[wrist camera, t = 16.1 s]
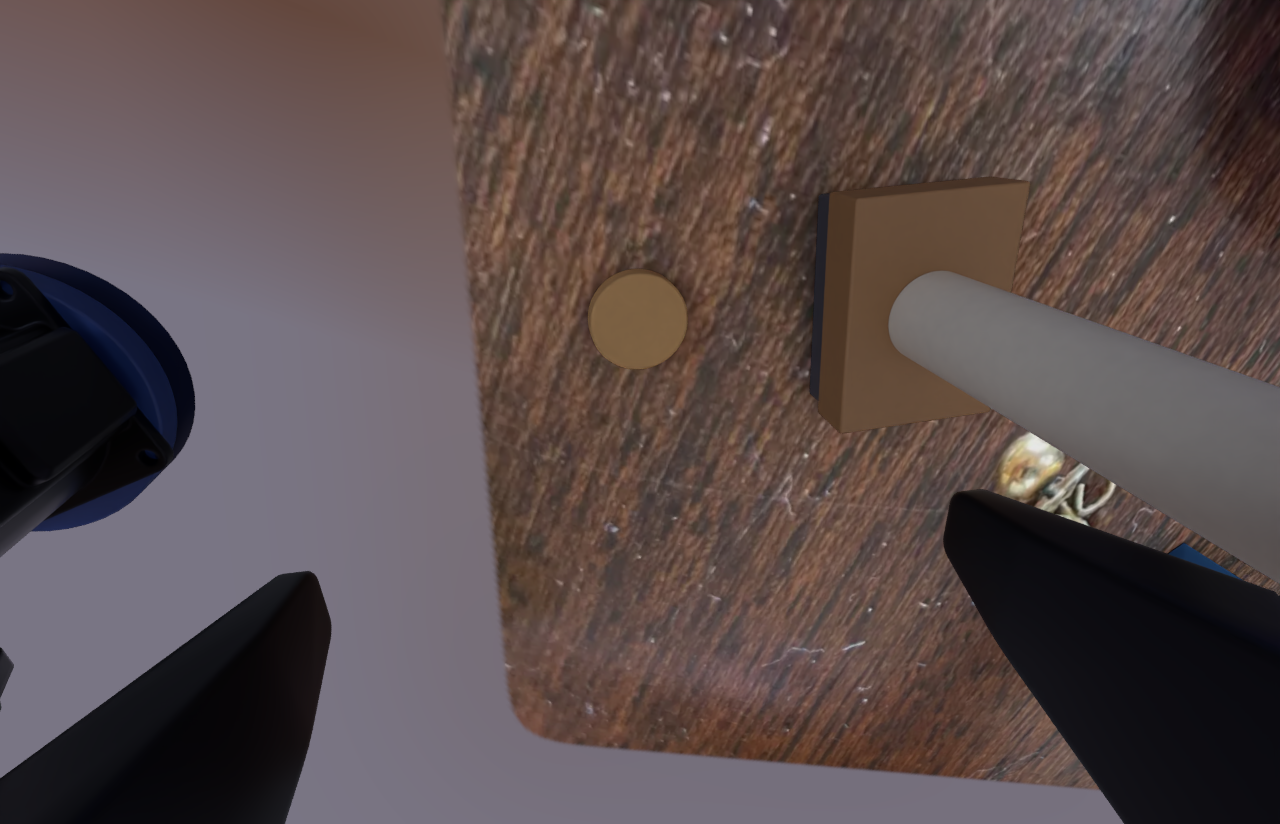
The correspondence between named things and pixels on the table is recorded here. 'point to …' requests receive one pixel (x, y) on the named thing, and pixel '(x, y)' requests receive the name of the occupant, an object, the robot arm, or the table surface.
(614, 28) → the table surface
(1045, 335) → the stamp
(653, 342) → the disc
